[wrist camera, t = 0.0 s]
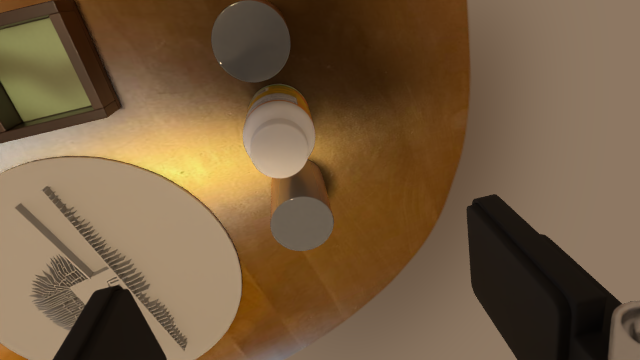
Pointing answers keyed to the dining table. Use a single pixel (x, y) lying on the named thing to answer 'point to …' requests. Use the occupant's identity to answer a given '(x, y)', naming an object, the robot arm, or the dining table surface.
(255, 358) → the dining table surface
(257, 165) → the supplement bottle
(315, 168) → the grey jar
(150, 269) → the plate
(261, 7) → the grey jar
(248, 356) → the dining table surface
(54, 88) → the divided wooden tray
